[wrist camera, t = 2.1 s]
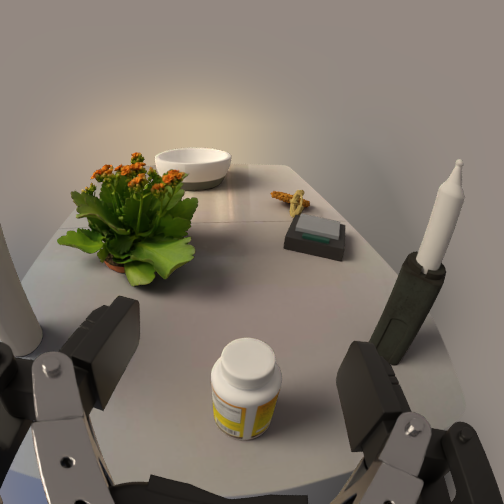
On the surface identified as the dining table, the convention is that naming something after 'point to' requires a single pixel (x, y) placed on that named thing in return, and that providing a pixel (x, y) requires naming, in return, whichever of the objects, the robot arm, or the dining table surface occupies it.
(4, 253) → the bottle
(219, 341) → the dining table surface
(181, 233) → the potted flower
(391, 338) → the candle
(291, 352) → the dining table surface
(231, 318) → the dining table surface
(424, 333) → the dining table surface
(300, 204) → the ornament
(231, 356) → the supplement bottle
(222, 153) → the bowl
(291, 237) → the scale
